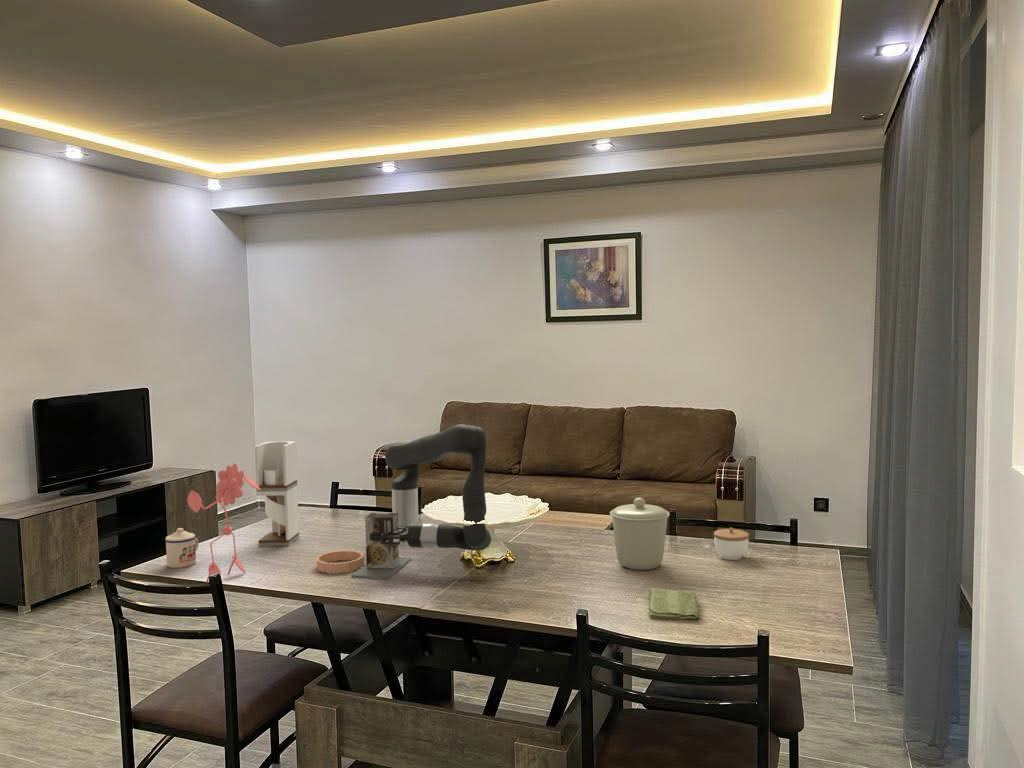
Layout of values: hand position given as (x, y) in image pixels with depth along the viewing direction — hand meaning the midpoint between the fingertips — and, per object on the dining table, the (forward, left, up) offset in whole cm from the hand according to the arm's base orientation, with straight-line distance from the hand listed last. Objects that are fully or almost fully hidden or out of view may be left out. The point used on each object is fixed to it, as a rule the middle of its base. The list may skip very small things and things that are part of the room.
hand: (375, 533), depth 241 cm
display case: (-25, -46, -11) cm, 54 cm away
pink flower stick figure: (+18, -37, -11) cm, 43 cm away
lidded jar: (-27, +109, -11) cm, 113 cm away
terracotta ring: (0, -12, -11) cm, 16 cm away
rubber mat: (0, +2, -11) cm, 11 cm away
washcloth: (+23, +91, -11) cm, 94 cm away
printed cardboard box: (0, +2, -10) cm, 11 cm away
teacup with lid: (+4, -64, -11) cm, 65 cm away
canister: (-14, +81, -11) cm, 83 cm away
